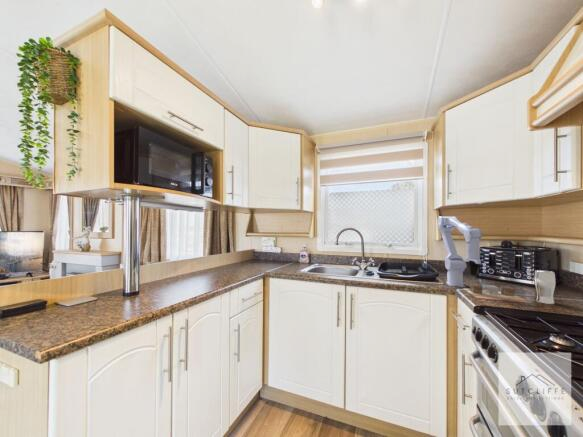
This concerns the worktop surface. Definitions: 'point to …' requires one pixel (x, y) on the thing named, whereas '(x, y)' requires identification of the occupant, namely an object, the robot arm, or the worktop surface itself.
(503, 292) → the walnut block
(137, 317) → the worktop surface
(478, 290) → the walnut block
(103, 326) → the worktop surface
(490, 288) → the metal block
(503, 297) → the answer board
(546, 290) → the beer glass
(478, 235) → the robot arm
